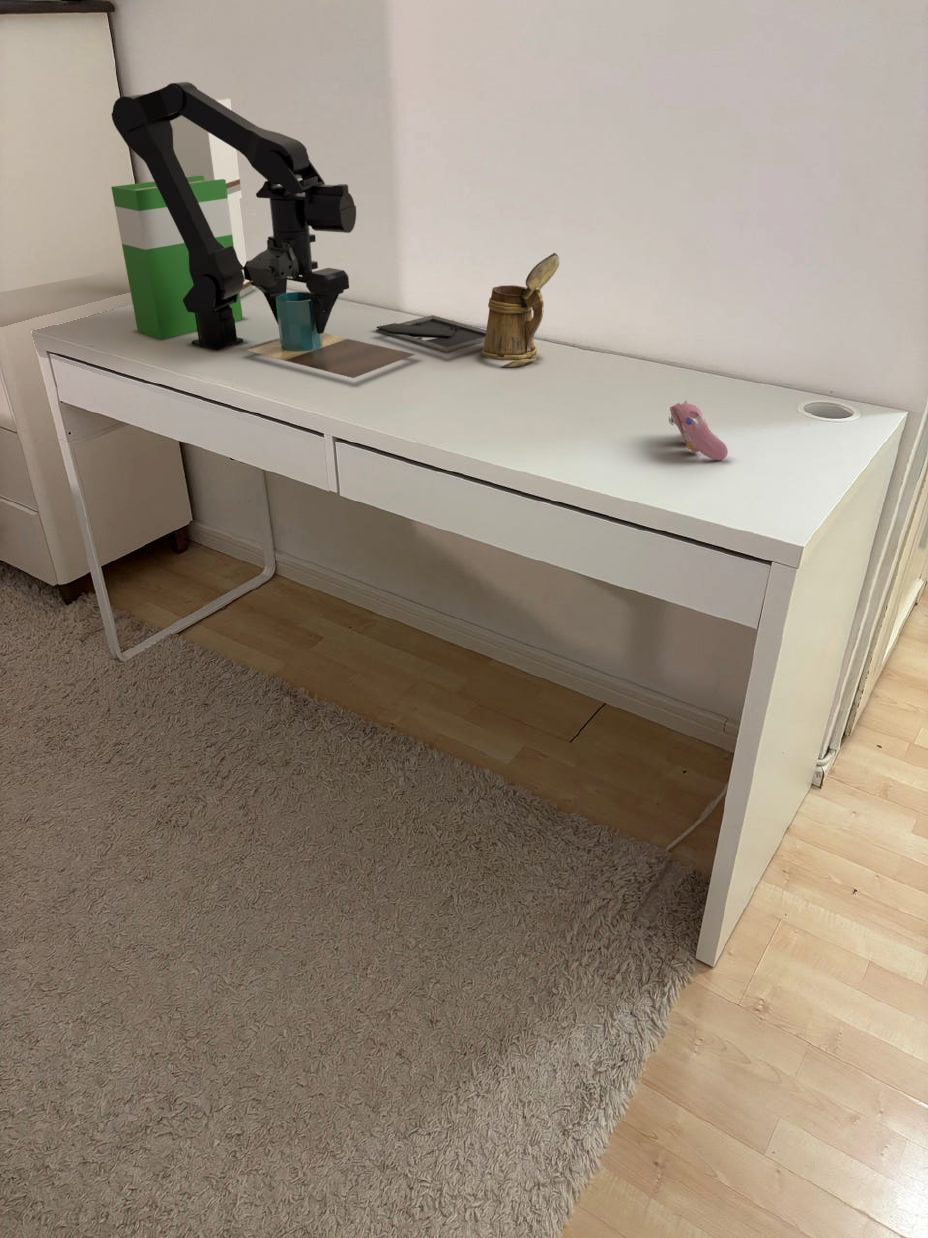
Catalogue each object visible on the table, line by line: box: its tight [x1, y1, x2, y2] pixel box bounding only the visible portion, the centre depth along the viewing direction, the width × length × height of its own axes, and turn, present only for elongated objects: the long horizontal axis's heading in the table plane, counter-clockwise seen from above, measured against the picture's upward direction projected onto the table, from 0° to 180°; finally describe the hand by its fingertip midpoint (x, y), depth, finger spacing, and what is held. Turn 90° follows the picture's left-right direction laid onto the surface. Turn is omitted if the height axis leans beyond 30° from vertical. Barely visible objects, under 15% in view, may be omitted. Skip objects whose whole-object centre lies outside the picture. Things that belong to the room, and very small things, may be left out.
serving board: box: [245, 332, 416, 379], centre depth 156 cm, size 24×15×1 cm, turn 53°
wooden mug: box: [481, 252, 560, 368], centre depth 150 cm, size 9×14×18 cm, turn 44°
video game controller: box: [668, 400, 729, 461], centre depth 123 cm, size 10×5×7 cm, turn 5°
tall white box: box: [170, 97, 254, 298], centre depth 184 cm, size 11×11×35 cm
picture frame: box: [376, 314, 486, 354], centre depth 165 cm, size 13×2×18 cm
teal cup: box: [276, 291, 324, 351], centre depth 157 cm, size 7×7×8 cm
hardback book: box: [110, 176, 244, 340], centre depth 168 cm, size 18×7×24 cm, turn 138°
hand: (300, 328), depth 158 cm, fingers open, 9 cm apart
